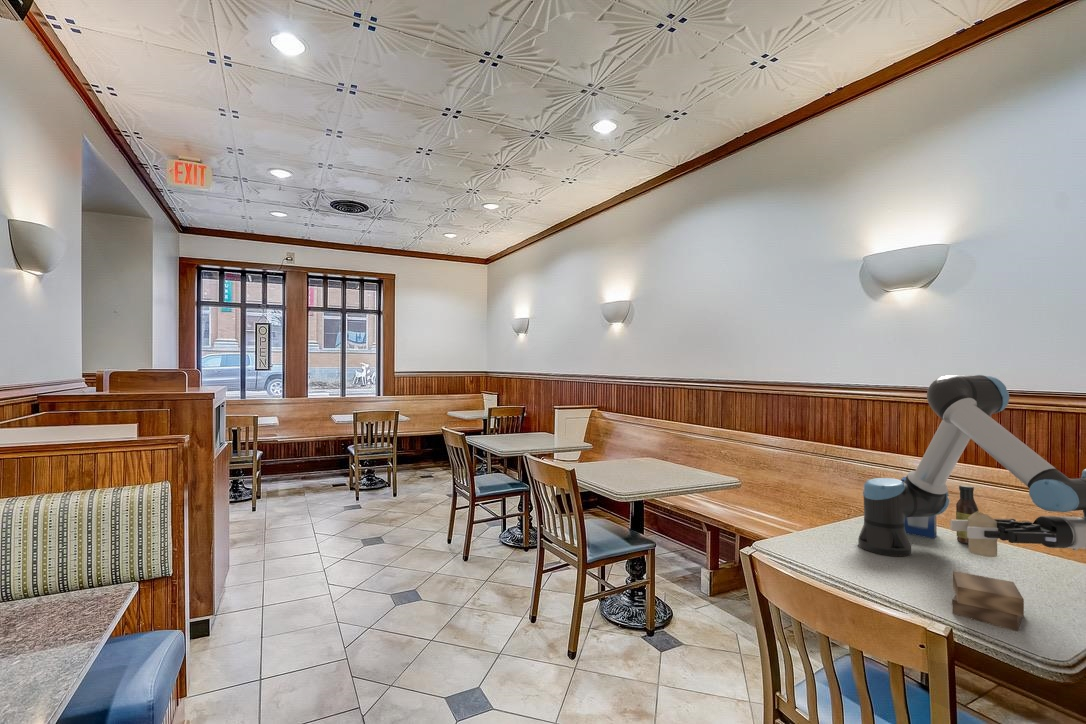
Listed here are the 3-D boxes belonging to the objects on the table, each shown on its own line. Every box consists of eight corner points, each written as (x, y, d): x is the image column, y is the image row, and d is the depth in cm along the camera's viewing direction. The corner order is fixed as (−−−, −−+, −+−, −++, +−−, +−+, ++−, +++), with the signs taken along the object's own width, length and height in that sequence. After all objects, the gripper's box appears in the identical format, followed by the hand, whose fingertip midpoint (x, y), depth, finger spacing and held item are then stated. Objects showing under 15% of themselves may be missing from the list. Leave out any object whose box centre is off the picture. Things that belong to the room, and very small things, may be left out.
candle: (1002, 557, 126) (1001, 517, 126) (977, 556, 127) (976, 516, 127) (988, 550, 131) (987, 511, 131) (963, 549, 132) (962, 510, 132)
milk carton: (936, 534, 189) (936, 480, 190) (934, 538, 185) (933, 483, 185) (904, 528, 196) (903, 476, 197) (901, 532, 192) (900, 479, 192)
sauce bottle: (981, 546, 176) (980, 489, 177) (958, 543, 180) (957, 486, 180) (977, 541, 182) (976, 485, 182) (955, 538, 185) (954, 483, 186)
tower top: (957, 602, 126) (957, 586, 126) (952, 586, 136) (952, 570, 136) (1023, 616, 119) (1023, 599, 119) (1013, 597, 129) (1013, 581, 129)
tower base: (952, 615, 128) (952, 599, 128) (961, 601, 136) (961, 586, 136) (1017, 633, 119) (1017, 616, 119) (1023, 617, 127) (1022, 601, 127)
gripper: (1097, 560, 117) (986, 556, 120) (1031, 535, 136) (936, 532, 139) (1096, 528, 118) (985, 524, 121) (1030, 507, 136) (936, 504, 139)
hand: (959, 528), depth 130 cm, fingers closed on candle, 5 cm apart
